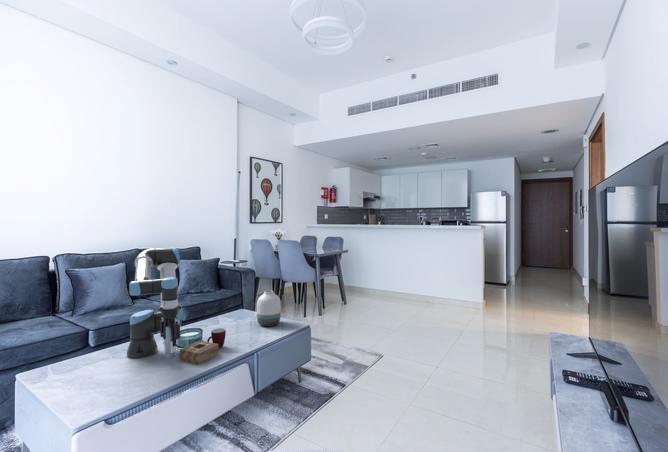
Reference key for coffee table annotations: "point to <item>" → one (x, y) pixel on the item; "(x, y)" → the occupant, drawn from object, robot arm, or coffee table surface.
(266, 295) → the vase
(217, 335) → the mug
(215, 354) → the socket block
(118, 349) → the coffee table surface
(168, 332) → the peg
